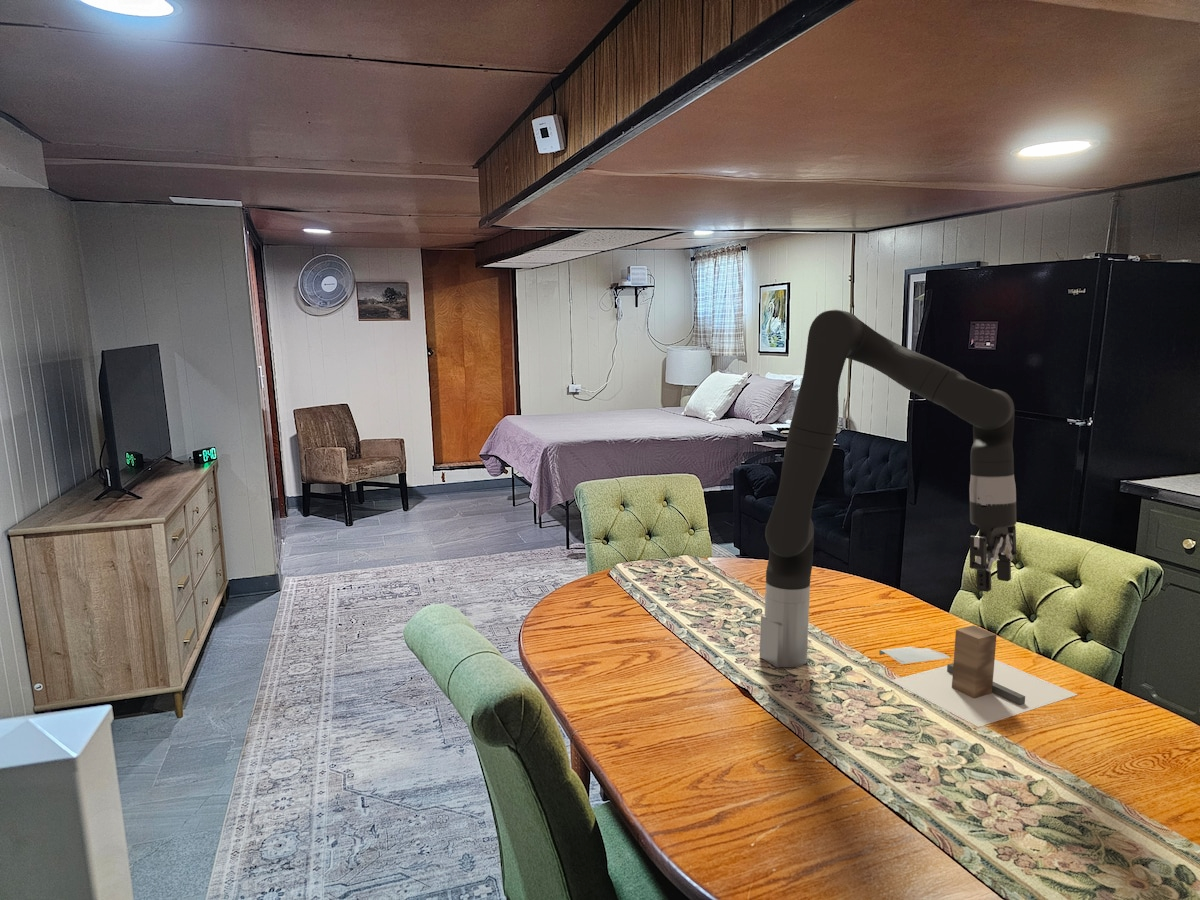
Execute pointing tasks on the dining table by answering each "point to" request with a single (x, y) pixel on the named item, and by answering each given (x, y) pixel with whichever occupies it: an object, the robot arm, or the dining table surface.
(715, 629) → the dining table surface
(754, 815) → the dining table surface
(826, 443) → the robot arm
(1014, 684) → the grey board
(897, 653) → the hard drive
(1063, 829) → the dining table surface
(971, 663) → the walnut block
